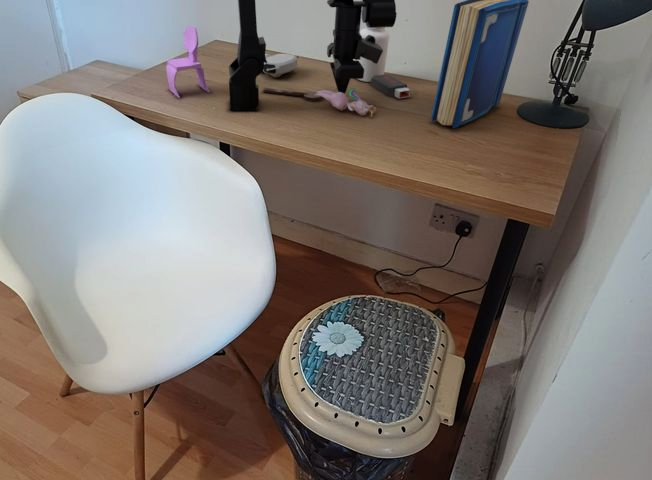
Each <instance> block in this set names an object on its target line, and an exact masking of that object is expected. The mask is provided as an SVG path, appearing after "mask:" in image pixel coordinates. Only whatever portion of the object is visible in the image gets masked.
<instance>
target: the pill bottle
mask: <svg viewBox="0 0 652 480" xmlns="http://www.w3.org/2000/svg"><path fill="white" fill-rule="evenodd" d="M360 35H361V36H362V39H363V38H366V37H367V36H368V35H371V36H374V37H375V44H378V45H379V46H381V48H382V49H383V52H382V54H381V57H380V59H379V61H378V63H377V64H376V63H373V62H372V61H370V60H368V59H365V58H363V57H361V58H360V60H355V61H359V62H360V63H361V64H362V66H363V68H364V77H363V78H362V79H357V80H358V81H361V82H364V83H365V82H366V83H371V78H372V77H373V76H377V75H384V74H385V69H386V62H387V56H388V49H389V42H390V33H389V31H388V30H387V29H386V27H372V28H368V27H367V26H366V23H364V28H362V29H360Z"/></svg>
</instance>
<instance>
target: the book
mask: <svg viewBox="0 0 652 480" xmlns="http://www.w3.org/2000/svg"><path fill="white" fill-rule="evenodd" d="M528 6H529V0H464V1H460V2H457V3H455V4H454V6H453V11H452V14H451V15H452V16H451V19H450V25H449V30H448V35H447V39H446V43H445V49H444V54H443V59H442V62H441V63H442V64H441V69H440V73H439V78H438V81H437V87H436V93H435V97H434V102H433V107H432V112H431V116H430V119H431V121H432V122H435V121H437V122H438V123H439V124H441V125H442V126H451V127H452V129H456V128H459V127H462V126H463V125H466V124H469V123H470V122H473V121H475V120H477V119H479V118H480V117H483V116H484V115H486V114H488V113H489V112H490V111H491V110H492V109H495V108H496V107H498V106H499V105H500V104H501V100H502V96H503V92H504V90H505V87H506V86H505V85H506V83H507V79H508V77H509V72H510V69H511V65H512V62H513V58H514V55H515V51H516V47H517V44H518V40H519V38H520V34H521V31H522V27H523V23H524V20H525V16H526V14H527V9H528Z"/></svg>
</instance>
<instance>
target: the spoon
mask: <svg viewBox="0 0 652 480" xmlns="http://www.w3.org/2000/svg"><path fill="white" fill-rule="evenodd" d="M262 92H263V93H267V94H274V95H275V94H276V95H283V96H291V97H299V98H303V100H305V101H308V102H318V101H321V100H322V96H319V95H317V96H315V95H314V94H317V92H318V91H306V92H301V91H295V90H294V91H293V90H286V89H280V88H279V89H278V88H277V89H276V88H270V87H264V88H263V89H262Z"/></svg>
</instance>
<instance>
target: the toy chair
mask: <svg viewBox="0 0 652 480" xmlns="http://www.w3.org/2000/svg"><path fill="white" fill-rule="evenodd" d="M183 47H184V48H185V50H186V51H187V52H188V56H186V57H182V58H181V57H180V58H176V59H175V58H173V59H172V58H171V59H167V61H166V63H167V64H166V66H165V67H166V69H165V70H166V77H167V81H168V87H169V90H170V91H171V92H172V94H174V96H175V97H177V98H178V99H180V98H181V96H180V94H179V92H178V89H177V85H176V77H177V74H178V73H179V72H183V71H186V70H192V69H194V70H195V73H196V76H197V82H198V85H199V87H201V88H202V89H203V90H204V91H205V92H206V93H208V94H209V93H210V90H209V88H208V84H207V82H206V77H205V71H204V68H203V67H202V63H201V62H200V61H198V48H199V35H198V30H197V28H196V26H188V27H186V28H185V29H184V31H183Z"/></svg>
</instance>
